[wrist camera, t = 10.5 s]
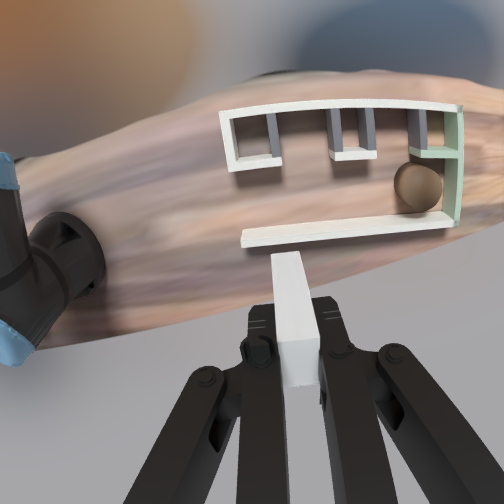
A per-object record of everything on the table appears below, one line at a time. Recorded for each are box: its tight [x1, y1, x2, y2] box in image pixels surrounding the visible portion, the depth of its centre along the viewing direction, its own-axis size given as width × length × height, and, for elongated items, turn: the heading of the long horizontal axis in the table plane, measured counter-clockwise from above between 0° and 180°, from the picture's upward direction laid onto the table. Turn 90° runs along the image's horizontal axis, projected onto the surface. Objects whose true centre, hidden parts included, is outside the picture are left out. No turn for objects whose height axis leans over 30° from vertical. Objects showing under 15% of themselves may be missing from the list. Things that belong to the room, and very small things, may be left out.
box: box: [219, 99, 464, 248], centre depth 33 cm, size 30×16×4 cm, turn 98°
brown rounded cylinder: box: [394, 162, 442, 211], centre depth 33 cm, size 6×6×4 cm
